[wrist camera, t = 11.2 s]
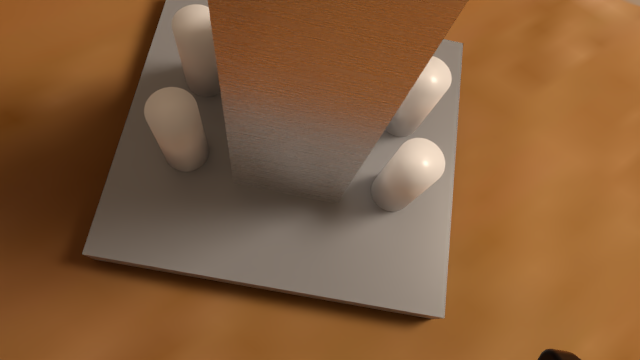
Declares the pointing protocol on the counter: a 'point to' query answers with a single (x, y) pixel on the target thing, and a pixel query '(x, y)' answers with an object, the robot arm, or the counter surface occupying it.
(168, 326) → the counter surface
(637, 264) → the counter surface
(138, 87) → the pin tray
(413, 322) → the counter surface
